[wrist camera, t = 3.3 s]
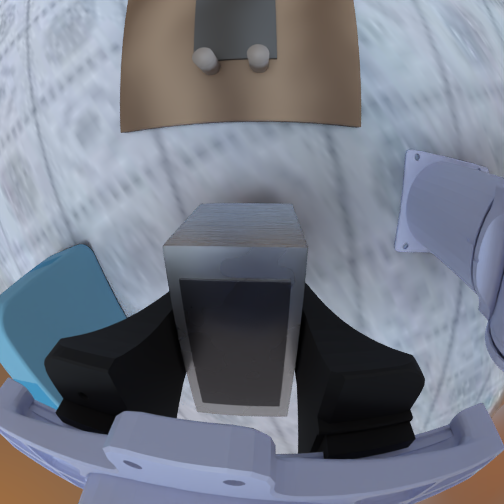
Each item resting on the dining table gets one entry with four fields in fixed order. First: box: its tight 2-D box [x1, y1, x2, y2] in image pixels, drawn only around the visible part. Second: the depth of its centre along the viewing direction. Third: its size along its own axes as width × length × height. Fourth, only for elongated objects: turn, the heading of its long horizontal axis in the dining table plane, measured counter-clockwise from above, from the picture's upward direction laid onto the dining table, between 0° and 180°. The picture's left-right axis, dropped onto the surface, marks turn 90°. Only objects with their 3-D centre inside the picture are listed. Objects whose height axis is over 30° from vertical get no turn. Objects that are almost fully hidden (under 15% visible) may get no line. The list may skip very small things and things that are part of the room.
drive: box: [163, 203, 308, 417], centre depth 11 cm, size 4×8×5 cm, turn 0°
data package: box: [0, 244, 126, 410], centre depth 17 cm, size 12×4×12 cm, turn 16°
